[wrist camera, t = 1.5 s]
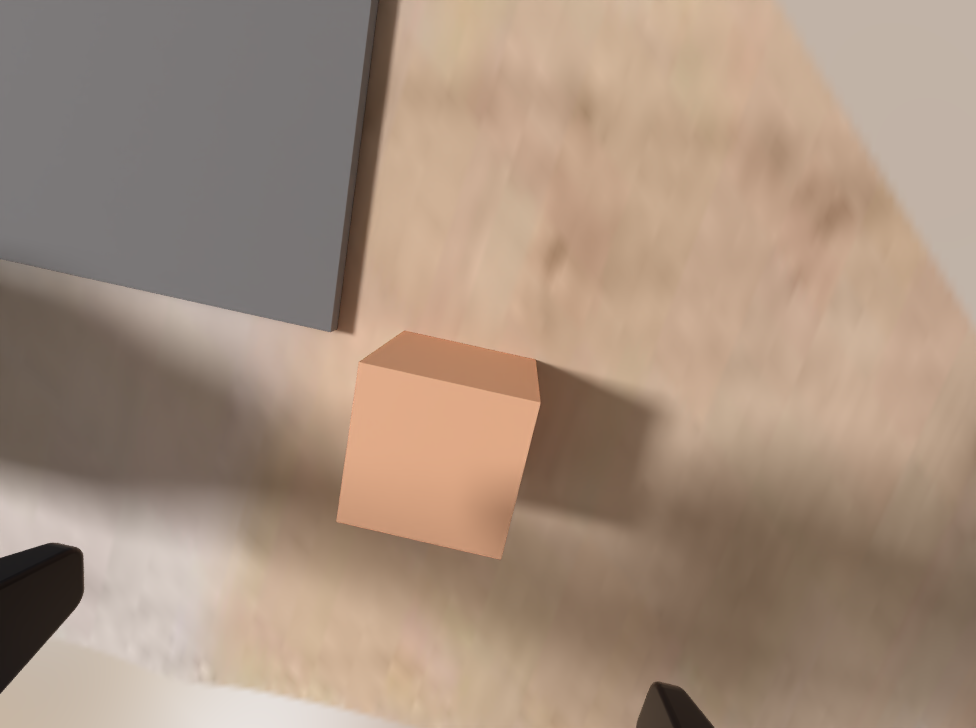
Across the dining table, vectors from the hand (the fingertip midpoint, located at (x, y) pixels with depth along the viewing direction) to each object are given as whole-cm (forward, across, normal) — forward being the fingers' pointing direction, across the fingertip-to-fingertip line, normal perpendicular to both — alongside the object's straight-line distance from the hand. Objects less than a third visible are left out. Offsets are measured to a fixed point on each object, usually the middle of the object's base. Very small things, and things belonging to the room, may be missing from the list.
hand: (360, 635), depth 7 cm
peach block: (+11, 0, 0) cm, 11 cm away
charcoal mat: (+11, +12, -9) cm, 18 cm away
